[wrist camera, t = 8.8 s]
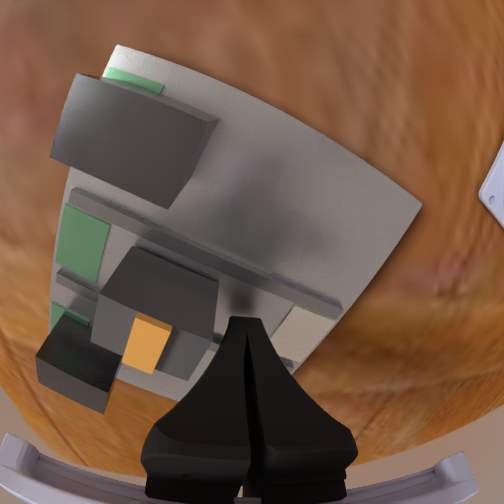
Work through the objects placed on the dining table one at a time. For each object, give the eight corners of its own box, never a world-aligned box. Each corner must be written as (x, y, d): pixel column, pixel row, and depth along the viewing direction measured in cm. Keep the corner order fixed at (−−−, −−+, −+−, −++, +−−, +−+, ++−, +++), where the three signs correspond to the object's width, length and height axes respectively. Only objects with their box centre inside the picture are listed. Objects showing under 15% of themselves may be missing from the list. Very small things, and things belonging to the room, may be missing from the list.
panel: (407, 194, 13) (470, 238, 8) (245, 403, 19) (246, 463, 15) (130, 50, 9) (69, 26, 5) (58, 330, 16) (26, 384, 12)
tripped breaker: (219, 283, 12) (211, 347, 9) (197, 323, 13) (186, 387, 10) (132, 245, 12) (95, 298, 8) (119, 289, 13) (87, 346, 9)
